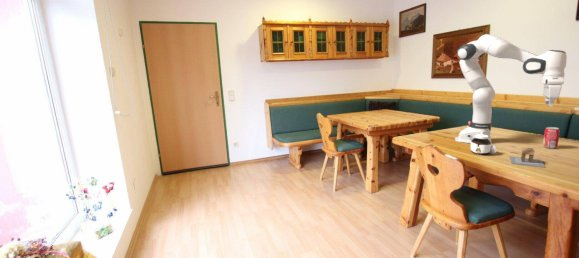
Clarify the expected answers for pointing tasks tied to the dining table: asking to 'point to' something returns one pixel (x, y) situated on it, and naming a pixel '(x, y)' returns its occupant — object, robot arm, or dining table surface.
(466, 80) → the robot arm
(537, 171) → the dining table surface
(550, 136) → the soda can
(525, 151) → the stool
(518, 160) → the pad
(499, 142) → the dining table surface
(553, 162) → the dining table surface
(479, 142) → the spread jar
